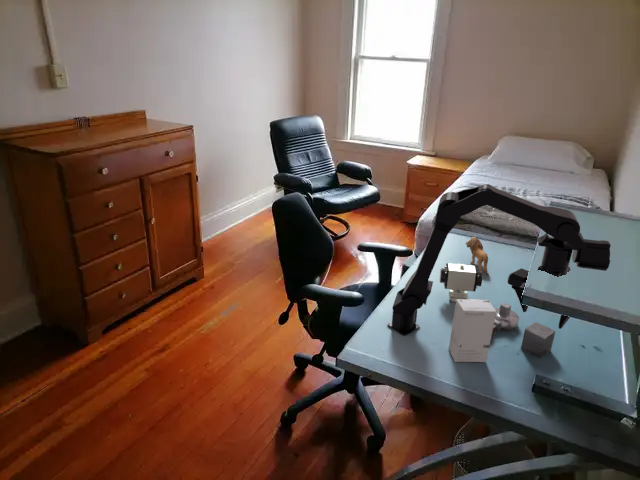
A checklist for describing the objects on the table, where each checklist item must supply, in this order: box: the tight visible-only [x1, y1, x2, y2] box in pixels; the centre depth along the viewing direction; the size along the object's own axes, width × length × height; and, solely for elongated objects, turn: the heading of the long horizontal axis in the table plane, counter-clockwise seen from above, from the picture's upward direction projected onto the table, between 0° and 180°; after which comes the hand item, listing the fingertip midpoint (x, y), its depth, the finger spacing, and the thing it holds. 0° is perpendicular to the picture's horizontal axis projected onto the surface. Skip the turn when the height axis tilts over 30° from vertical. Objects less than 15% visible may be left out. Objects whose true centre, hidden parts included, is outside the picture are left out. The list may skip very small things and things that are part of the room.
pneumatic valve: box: [439, 263, 483, 303], centre depth 140 cm, size 6×12×12 cm, turn 78°
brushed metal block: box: [520, 321, 556, 360], centre depth 119 cm, size 5×5×6 cm
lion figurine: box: [465, 236, 490, 277], centre depth 161 cm, size 15×5×9 cm, turn 10°
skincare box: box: [448, 298, 496, 363], centre depth 115 cm, size 8×6×15 cm
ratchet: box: [491, 302, 520, 338], centre depth 126 cm, size 19×8×6 cm, turn 128°
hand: (542, 319), depth 116 cm, fingers open, 9 cm apart
